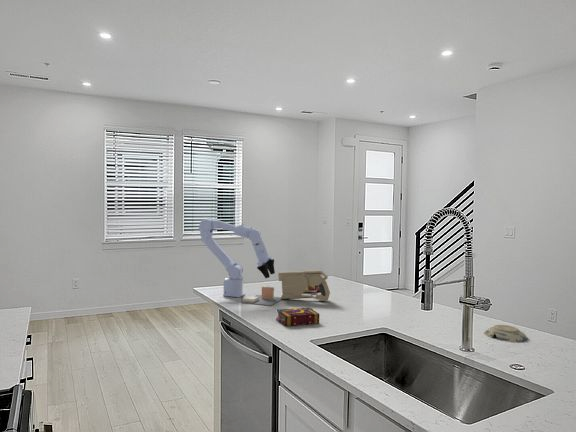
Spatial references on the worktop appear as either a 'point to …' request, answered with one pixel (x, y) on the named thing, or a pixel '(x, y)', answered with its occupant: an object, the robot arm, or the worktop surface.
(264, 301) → the mat
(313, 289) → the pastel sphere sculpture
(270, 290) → the tile
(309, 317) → the decorative book
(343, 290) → the worktop surface
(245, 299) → the flat tile
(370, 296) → the worktop surface
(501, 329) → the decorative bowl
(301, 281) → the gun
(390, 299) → the worktop surface
